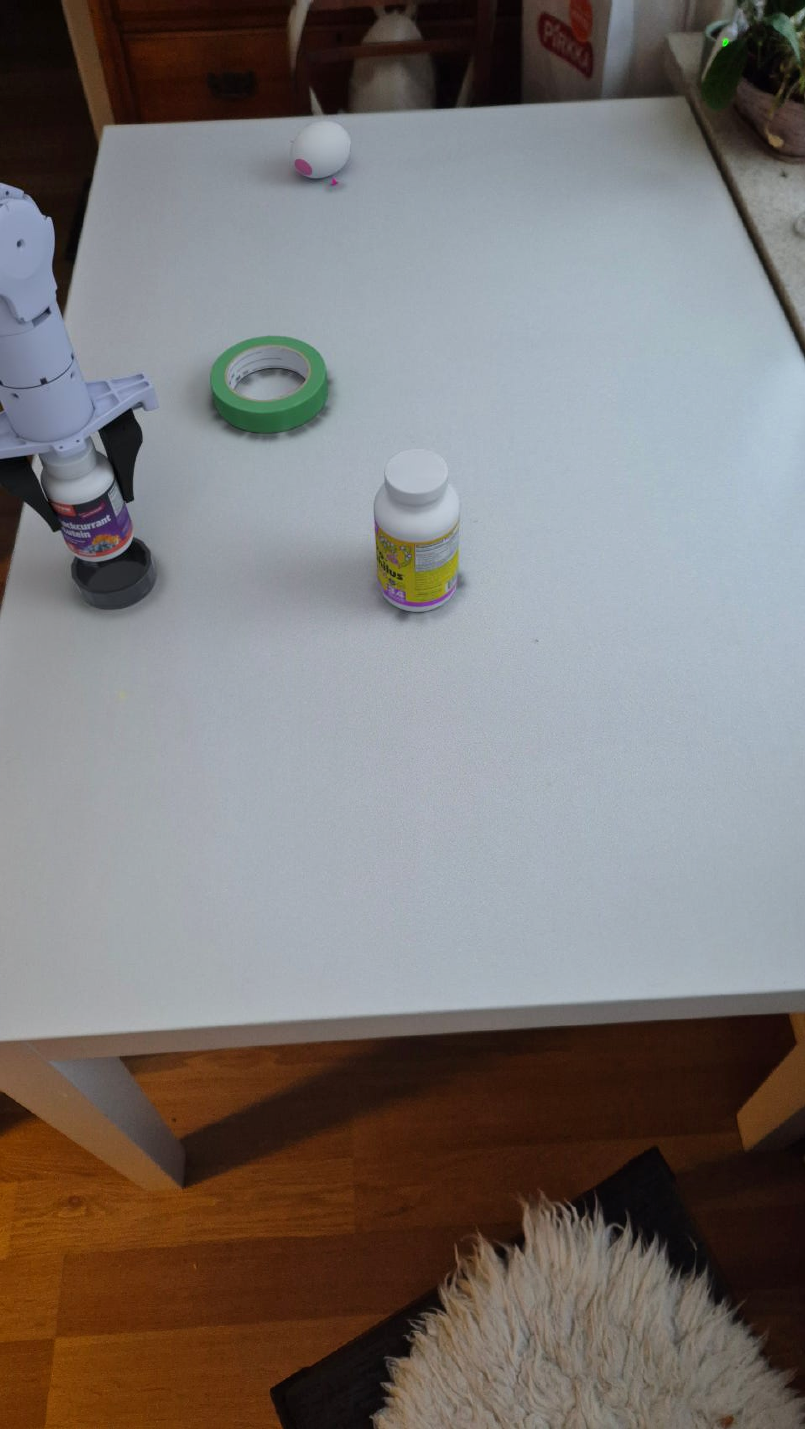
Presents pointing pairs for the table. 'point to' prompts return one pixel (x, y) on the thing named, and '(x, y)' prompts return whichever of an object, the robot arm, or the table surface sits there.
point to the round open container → (116, 577)
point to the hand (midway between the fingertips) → (89, 508)
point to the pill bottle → (87, 503)
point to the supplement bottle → (417, 531)
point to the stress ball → (320, 150)
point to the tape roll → (276, 411)
